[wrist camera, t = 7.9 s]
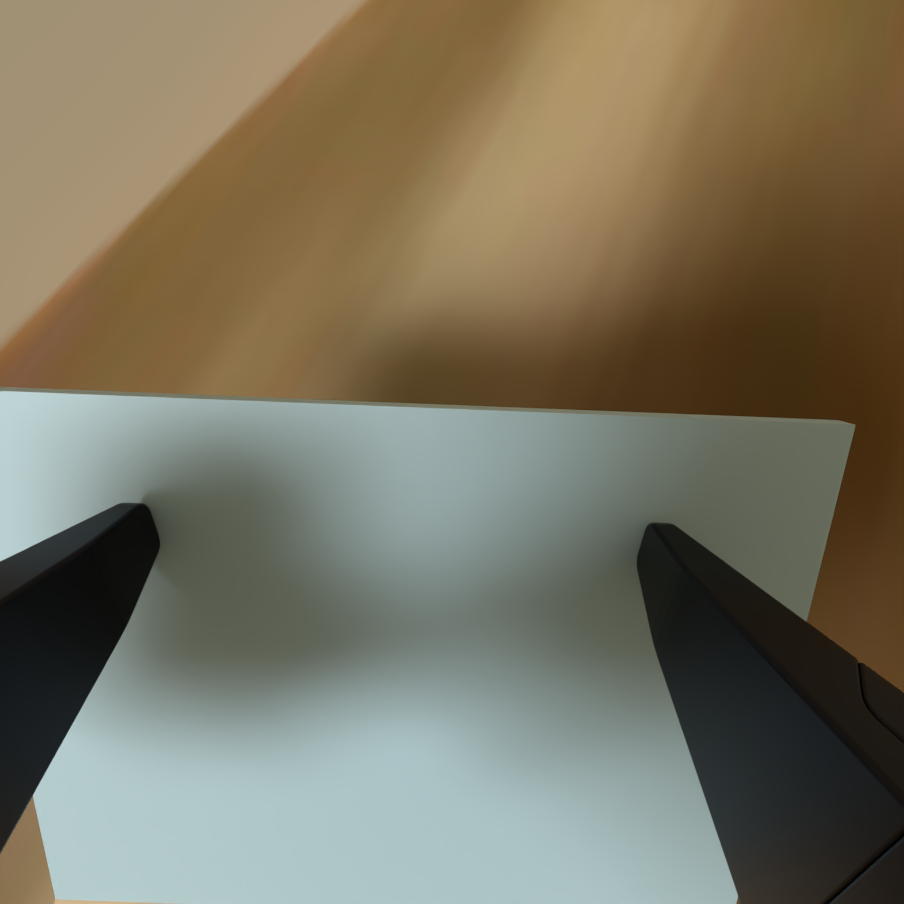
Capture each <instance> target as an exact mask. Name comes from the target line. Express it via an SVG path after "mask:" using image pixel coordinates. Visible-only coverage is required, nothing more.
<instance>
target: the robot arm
mask: <svg viewBox="0 0 904 904" xmlns="http://www.w3.org/2000/svg"><path fill="white" fill-rule="evenodd" d="M159 549H160V539H159V534H158V531H157V528H156V525H155V522H154V519H153V516H152V514H151V511H150V509H149V507H148V506H147V505H146V504H143V503H119V504H117V505H115V506H113V507H111V508H109V509H107V510H105V511H102V512H100V513H98V514H96V515H94V516H92V517H90V518H88V519H86V520H84V521H82V522H80V523H78V524H76V525H74V526H72V527H70V528H68V529H66V530H64V531H61V532H59V533H57V534H55V535H53V536H51V537H49V538H47V539H45V540H43V541H41V542H39V543H37V544H35V545H33V546H31V547H29V548H27V549H25V550H23V551H20V552H18V553H16V554H14V555H12V556H10V557H8V558H6V559H4V560H2V561H0V854H1V852H2V850H3V848H4V846H5V845H6V843H7V841H8V839H9V837H10V836H11V834H12V832H13V830H14V828H15V827H16V825H17V823H18V821H19V819H20V818H21V816H22V814H23V812H24V810H25V809H26V807H27V805H28V803H29V801H30V800H31V798H32V796H33V794H34V793H35V791H36V789H37V787H38V785H39V784H40V782H41V780H42V778H43V776H44V775H45V773H46V771H47V769H48V767H49V766H50V764H51V762H52V760H53V758H54V757H55V755H56V753H57V751H58V749H59V748H60V746H61V744H62V742H63V740H64V739H65V737H66V735H67V733H68V731H69V730H70V728H71V726H72V724H73V722H74V721H75V719H76V717H77V715H78V714H79V712H80V710H81V708H82V706H83V705H84V703H85V701H86V699H87V697H88V696H89V694H90V692H91V690H92V688H93V687H94V685H95V683H96V681H97V679H98V678H99V676H100V674H101V672H102V670H103V669H104V667H105V665H106V663H107V661H108V660H109V658H110V656H111V654H112V652H113V651H114V649H115V647H116V645H117V643H118V642H119V640H120V638H121V636H122V634H123V632H124V630H125V628H126V627H127V624H128V622H129V620H130V618H131V616H132V614H133V611H134V609H135V607H136V604H137V602H138V600H139V597H140V595H141V593H142V590H143V588H144V585H145V583H146V581H147V578H148V576H149V574H150V571H151V569H152V567H153V564H154V562H155V560H156V557H157V555H158V552H159ZM637 571H638V576H639V581H640V585H641V590H642V595H643V599H644V604H645V609H646V613H647V618H648V623H649V627H650V632H651V636H652V640H653V644H654V648H655V651H656V654H657V658H658V661H659V664H660V667H661V670H662V673H663V675H664V678H665V681H666V684H667V687H668V690H669V693H670V696H671V699H672V702H673V705H674V708H675V711H676V714H677V717H678V720H679V723H680V726H681V729H682V732H683V735H684V738H685V740H686V743H687V746H688V749H689V752H690V755H691V758H692V761H693V764H694V767H695V770H696V773H697V776H698V779H699V782H700V785H701V788H702V791H703V794H704V797H705V800H706V803H707V805H708V808H709V811H710V814H711V817H712V820H713V823H714V826H715V829H716V832H717V835H718V838H719V841H720V844H721V847H722V850H723V853H724V856H725V859H726V862H727V865H728V868H729V871H730V873H731V876H732V879H733V882H734V885H735V888H736V891H737V894H738V897H739V900H740V903H741V904H904V693H903V692H902V691H901V690H899V689H898V688H896V687H895V686H894V685H892V684H891V683H889V682H888V681H887V680H885V679H884V678H883V677H881V676H880V675H878V674H877V673H876V672H874V671H873V670H872V669H870V668H869V667H868V666H866V665H865V664H863V663H858V660H857V659H856V658H855V657H854V656H852V655H851V654H850V653H848V652H847V651H846V650H844V649H843V648H842V647H840V646H839V645H837V644H836V643H835V642H833V641H832V640H831V639H829V638H828V637H827V636H825V635H824V634H823V633H821V632H820V631H818V630H817V629H816V628H814V627H813V626H812V625H810V624H809V623H808V622H806V621H805V620H803V619H802V618H801V617H799V616H798V615H797V614H795V613H794V612H793V611H791V610H790V609H788V608H787V607H786V606H784V605H783V604H782V603H780V602H779V601H778V600H776V599H775V598H774V597H772V596H771V595H769V594H768V593H767V592H765V591H764V590H763V589H761V588H760V587H759V586H757V585H756V584H754V583H753V582H752V581H750V580H749V579H748V578H746V577H745V576H744V575H742V574H741V573H739V572H738V571H737V570H735V569H734V568H733V567H731V566H730V565H729V564H727V563H726V562H725V561H723V560H722V559H720V558H719V557H718V556H716V555H715V554H714V553H712V552H711V551H710V550H708V549H707V548H705V547H704V546H703V545H701V544H700V543H699V542H697V541H696V540H695V539H693V538H692V537H691V536H689V535H688V534H686V533H685V532H684V531H682V530H681V529H680V528H678V527H677V526H675V525H674V524H672V523H656V522H652V523H650V524H648V525H647V527H646V529H645V532H644V535H643V538H642V542H641V545H640V548H639V552H638V556H637Z"/></svg>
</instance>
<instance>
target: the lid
mask: <svg viewBox="0 0 904 904" xmlns="http://www.w3.org/2000/svg"><path fill="white" fill-rule="evenodd" d="M854 430H855V424H851V423H847V422H843V421H840V420H821V419H796V418H771V417H745V416H720V415H695V414H670V413H645V412H619V411H594V410H569V409H544V408H519V407H493V406H468V405H443V404H418V403H393V402H367V401H342V400H317V399H292V398H267V397H241V396H216V395H191V394H166V393H141V392H115V391H90V390H65V389H40V388H15V387H0V561H2V560H4V559H6V558H8V557H10V556H12V555H14V554H16V553H18V552H20V551H23V550H25V549H27V548H29V547H31V546H33V545H35V544H37V543H39V542H41V541H43V540H45V539H47V538H49V537H51V536H53V535H55V534H57V533H59V532H61V531H64V530H66V529H68V528H70V527H72V526H74V525H76V524H78V523H80V522H82V521H84V520H86V519H88V518H90V517H92V516H94V515H96V514H98V513H100V512H102V511H105V510H107V509H109V508H111V507H113V506H115V505H117V504H119V503H143V504H146V505H147V506H148V507H149V509H150V511H151V514H152V516H153V519H154V522H155V525H156V528H157V531H158V534H159V539H160V549H159V552H158V555H157V557H156V560H155V562H154V564H153V567H152V569H151V571H150V574H149V576H148V578H147V581H146V583H145V585H144V588H143V590H142V593H141V595H140V597H139V600H138V602H137V604H136V607H135V609H134V611H133V614H132V616H131V618H130V620H129V622H128V624H127V627H126V628H125V630H124V632H123V634H122V636H121V638H120V640H119V642H118V643H117V645H116V647H115V649H114V651H113V652H112V654H111V656H110V658H109V660H108V661H107V663H106V665H105V667H104V669H103V670H102V672H101V674H100V676H99V678H98V679H97V681H96V683H95V685H94V687H93V688H92V690H91V692H90V694H89V696H88V697H87V699H86V701H85V703H84V705H83V706H82V708H81V710H80V712H79V714H78V715H77V717H76V719H75V721H74V722H73V724H72V726H71V728H70V730H69V731H68V733H67V735H66V737H65V739H64V740H63V742H62V744H61V746H60V748H59V749H58V751H57V753H56V755H55V757H54V758H53V760H52V762H51V764H50V766H49V767H48V769H47V771H46V773H45V775H44V776H43V778H42V780H41V782H40V784H39V785H38V787H37V789H36V791H35V793H34V794H33V799H34V803H35V808H36V812H37V817H38V821H39V826H40V831H41V835H42V840H43V844H44V849H45V853H46V858H47V862H48V867H49V871H50V876H51V881H52V885H53V890H54V894H55V899H56V900H55V903H54V904H736V903H737V899H738V894H737V891H736V888H735V885H734V882H733V879H732V876H731V873H730V871H729V868H728V865H727V862H726V859H725V856H724V853H723V850H722V847H721V844H720V841H719V838H718V835H717V832H716V829H715V826H714V823H713V820H712V817H711V814H710V811H709V808H708V805H707V803H706V800H705V797H704V794H703V791H702V788H701V785H700V782H699V779H698V776H697V773H696V770H695V767H694V764H693V761H692V758H691V755H690V752H689V749H688V746H687V743H686V740H685V738H684V735H683V732H682V729H681V726H680V723H679V720H678V717H677V714H676V711H675V708H674V705H673V702H672V699H671V696H670V693H669V690H668V687H667V684H666V681H665V678H664V675H663V673H662V670H661V667H660V664H659V661H658V658H657V654H656V651H655V648H654V644H653V640H652V636H651V632H650V627H649V623H648V618H647V613H646V609H645V604H644V599H643V595H642V590H641V585H640V581H639V576H638V571H637V556H638V552H639V548H640V545H641V542H642V538H643V535H644V532H645V529H646V527H647V525H648V524H650V523H652V522H656V523H672V524H674V525H675V526H677V527H678V528H680V529H681V530H682V531H684V532H685V533H686V534H688V535H689V536H691V537H692V538H693V539H695V540H696V541H697V542H699V543H700V544H701V545H703V546H704V547H705V548H707V549H708V550H710V551H711V552H712V553H714V554H715V555H716V556H718V557H719V558H720V559H722V560H723V561H725V562H726V563H727V564H729V565H730V566H731V567H733V568H734V569H735V570H737V571H738V572H739V573H741V574H742V575H744V576H745V577H746V578H748V579H749V580H750V581H752V582H753V583H754V584H756V585H757V586H759V587H760V588H761V589H763V590H764V591H765V592H767V593H768V594H769V595H771V596H772V597H774V598H775V599H776V600H778V601H779V602H780V603H782V604H783V605H784V606H786V607H787V608H788V609H790V610H791V611H793V612H794V613H795V614H797V615H798V616H799V617H801V618H802V619H803V620H805V621H806V622H807V618H808V614H809V610H810V606H811V602H812V598H813V594H814V590H815V586H816V582H817V578H818V574H819V570H820V566H821V562H822V558H823V554H824V550H825V546H826V542H827V538H828V534H829V530H830V526H831V522H832V518H833V514H834V510H835V506H836V502H837V498H838V494H839V490H840V486H841V482H842V478H843V474H844V470H845V466H846V462H847V458H848V454H849V450H850V446H851V442H852V438H853V434H854Z"/></svg>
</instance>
